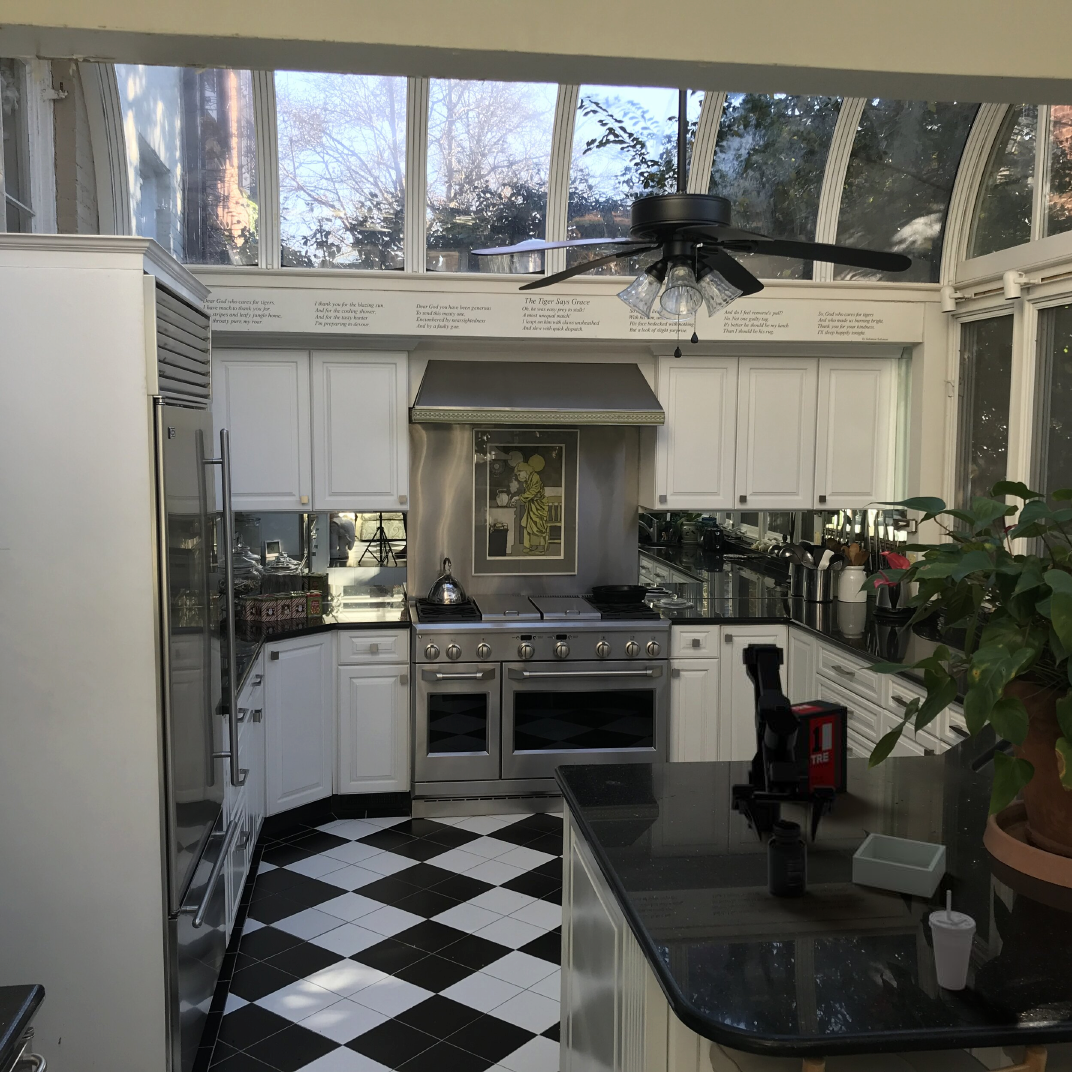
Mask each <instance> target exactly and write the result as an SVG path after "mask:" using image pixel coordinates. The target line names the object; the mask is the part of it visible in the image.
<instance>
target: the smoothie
mask: <svg viewBox="0 0 1072 1072" xmlns="http://www.w3.org/2000/svg"><path fill="white" fill-rule="evenodd" d="M951 908H952V891H951V890H949V889H948V890H947V889H946V910H937V911H934V912H931V913H930V914H929V917H928V918H929V921H928V925H929V926H930V927H931V935H932V944H933V950H934V951H933V952H934V959H935V961H934V962H935V967H936V979H937V983H938V985H939V986H941V987H942V988H944V989H947V990H952V991H960V990H963V989H965V987H966V983H967V975H968V969H969V963H970V962H969V961H970V956H971V949H972V944H973V943H972V942H973V938H974V937H973V936H974V933H976V931H977V927H976V921H975V920H974V919H973V918H972V917H970V916H969V915H967V914H964V913H961V912H959V911H953V910H952V909H951Z"/></svg>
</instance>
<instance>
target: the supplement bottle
mask: <svg viewBox="0 0 1072 1072" xmlns="http://www.w3.org/2000/svg"><path fill="white" fill-rule="evenodd" d="M801 829H802V828H801V824H799V823H798V822H795V821H791V820H789V821H788V820H786V821H779V822H776V823H774V824H773V831H772V836H773V837H771V838H770V839H769V840H768V842H767V883H768V885H767V886H768V890H769V891H770V892H771V894H774V895H775V896H780V897H784V898H797V897H801V896H803V895H805V894H806V892H807V890H808V858H807V857H808V856H807V855H808V854H807V853H808V848H807V844H806V842H805V841H804V840H803V839H802V838H801V837H802V832H801Z"/></svg>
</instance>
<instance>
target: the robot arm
mask: <svg viewBox="0 0 1072 1072" xmlns="http://www.w3.org/2000/svg"><path fill="white" fill-rule="evenodd" d="M741 652H742V653H741V655H742V659H741V661H742V665H743V666H744V665H745V674H746V676H747V677H748V679H749V680H750V681H751V683H752V684H753V695H754V697H753V698H754V701H753V702H754V726H755V727H754V728H755V741H756V742H755V743H756V745H755V747H756V752H755V754H754V756H753V757H752V760H751V761H750V764H749V770H747V772H746V780H745V783H734V784H733V785H732V786H731V789H730V790H731V791H730V809H731V810H733V811H735V812H736V811H738V814H739V815H743V816H744V817H745V819H746V820H747V821H748V823H747V827H749V828H752V830H753V832H754V834H755V837H756V839H758V842H759V843H762V841H763V834H762V830H765V831H771V832H773V824H774V823H776V822H779V821H787V820H786V819H782V804H792V803H799V804H810V812H809V813H810V814H809V815H810V817H809V818H810V819H809V823H810V827H809V831H810V833H809V834H810V842H811V844H814V843H815V840H816V835H817V830H818V826H819V823H820V821H821V818H822V817H826V816H828V813H829V814H831V813H833V812H835V808H836V804H837V799H838V798H837V794H836V790H835V789H834V788H833V787H832V786H815V785H813V788H812V793H806V792H798V789H797V788H799V787H800V783H799V778H808V776H809V764H808V759H798V760H797V763H795V761H794V752H793V747H794V745H795V742H796V736H797V731H798V727H801V720H800V719H799V718H798V716H797V715H796V713H795V711H792V707H791V704H792V703H791V699H790V698H788V696H786V695H785V694H784V692H783V686H782V681H781V673H780V671H781V666H783V665H784V664H785V663H784V661H785V660H784V659H785V658H784V647H778V646H777V644H776V643H748V644H747V647H743V648H742V651H741Z"/></svg>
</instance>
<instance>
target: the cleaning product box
mask: <svg viewBox="0 0 1072 1072" xmlns="http://www.w3.org/2000/svg"><path fill="white" fill-rule="evenodd" d="M791 707H792V711H795V713H796V715H797V716H798V718H799V719H800V720H801V727H798V731H797V736H796V742H795V745H794V747H793V752H794V761H795V763H797V760H798V759H808V764H809V776H808V778H799V783H800V787H799V788H797V789H798V792H806V793H812V788H813V785H815V786H832V787H833V788H834V789H835V790H836V795H840V794H843V793H847V792H848V706H845V705H841V704H837V703H833V702H829V701H827V700H826V701H825V700H822V699H815V700H809V701H804V702H799V703H791ZM791 804H793V805H794V804H795V805H798V804H800V803H791Z"/></svg>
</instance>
